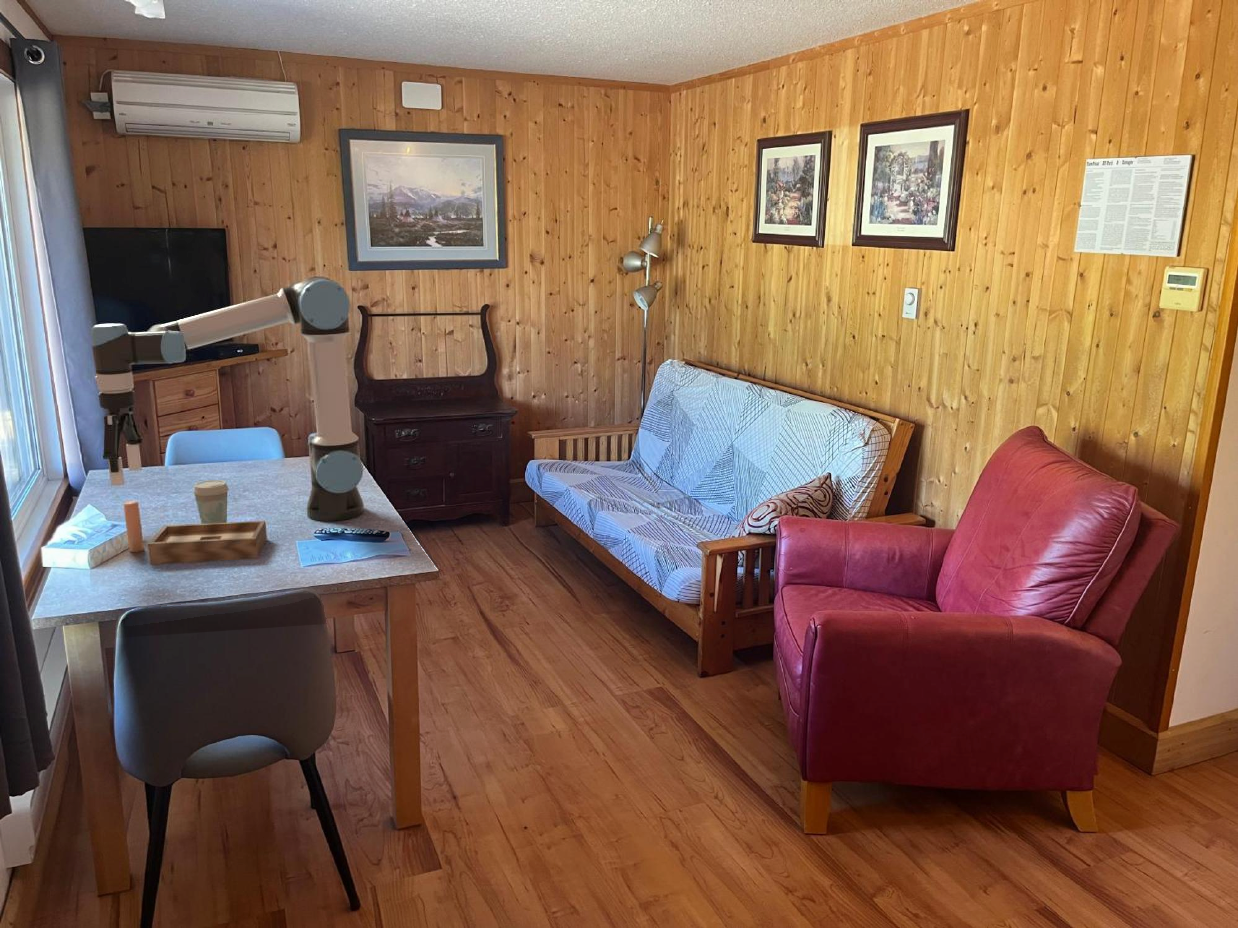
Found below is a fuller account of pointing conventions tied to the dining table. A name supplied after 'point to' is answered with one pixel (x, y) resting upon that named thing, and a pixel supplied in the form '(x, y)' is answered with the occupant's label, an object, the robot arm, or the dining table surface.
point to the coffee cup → (211, 501)
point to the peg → (133, 526)
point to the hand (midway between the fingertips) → (126, 477)
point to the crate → (207, 542)
